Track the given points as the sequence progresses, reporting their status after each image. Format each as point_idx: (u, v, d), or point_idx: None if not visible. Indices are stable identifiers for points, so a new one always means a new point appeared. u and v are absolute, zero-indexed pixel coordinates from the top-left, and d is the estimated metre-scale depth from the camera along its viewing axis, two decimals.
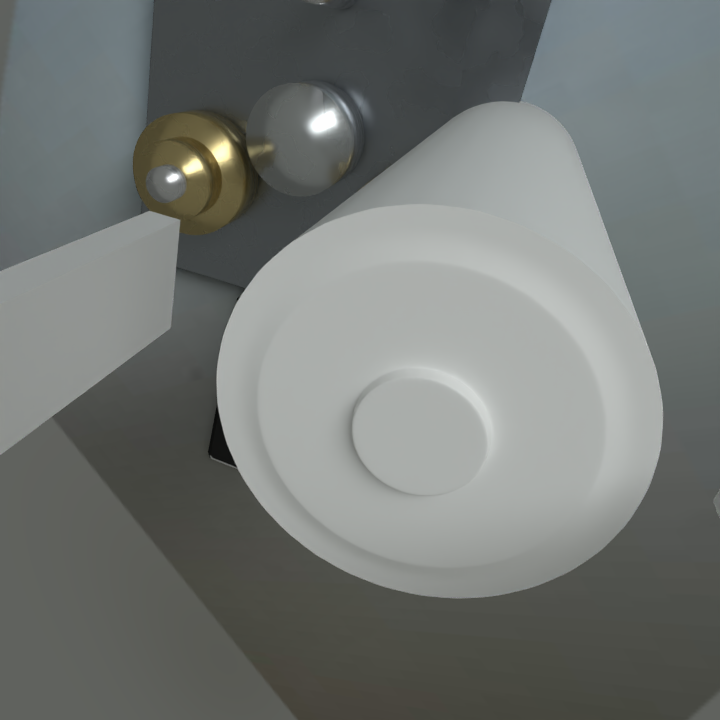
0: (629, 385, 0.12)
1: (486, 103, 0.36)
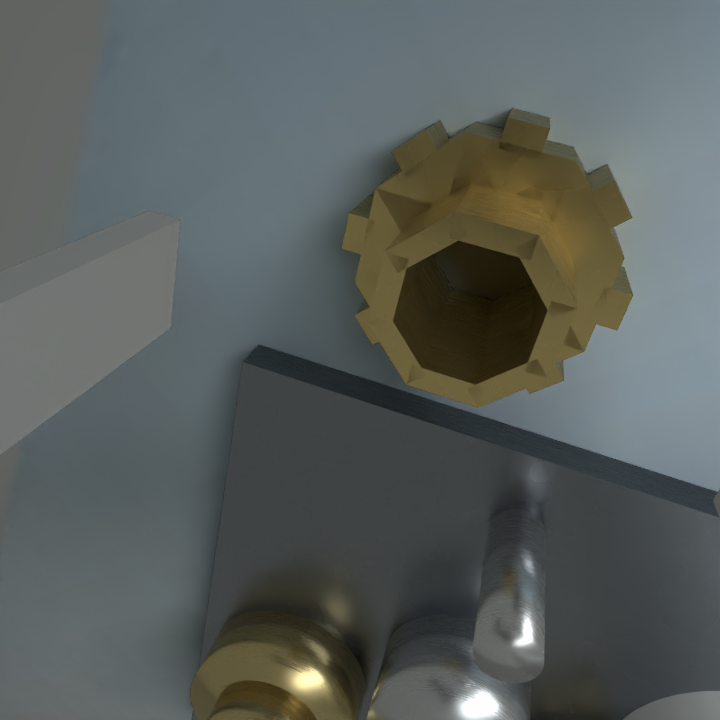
0: None
1: None
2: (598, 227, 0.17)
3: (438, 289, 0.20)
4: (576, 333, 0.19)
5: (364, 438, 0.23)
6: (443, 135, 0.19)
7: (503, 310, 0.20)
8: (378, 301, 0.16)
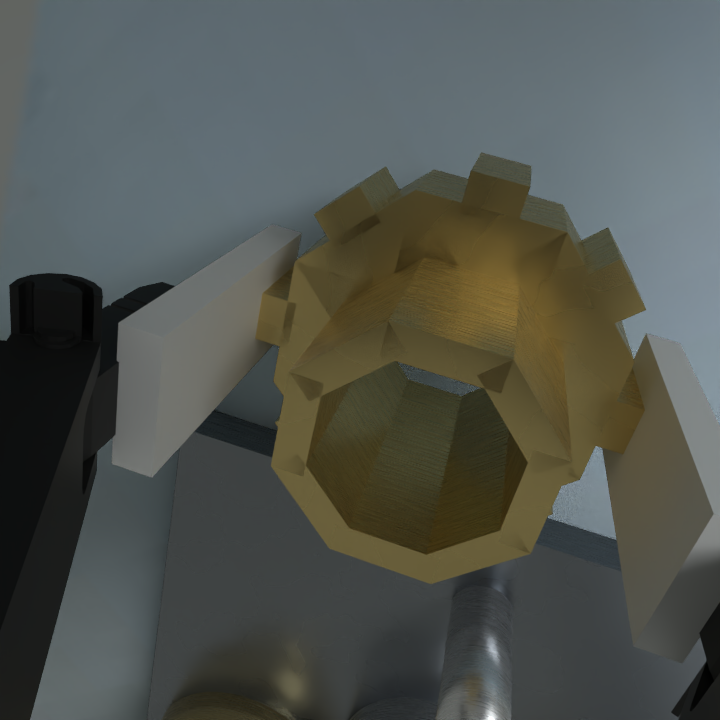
0: None
1: None
2: (599, 321, 0.13)
3: (386, 387, 0.15)
4: None
5: None
6: (389, 188, 0.14)
7: (472, 415, 0.15)
8: (284, 438, 0.11)
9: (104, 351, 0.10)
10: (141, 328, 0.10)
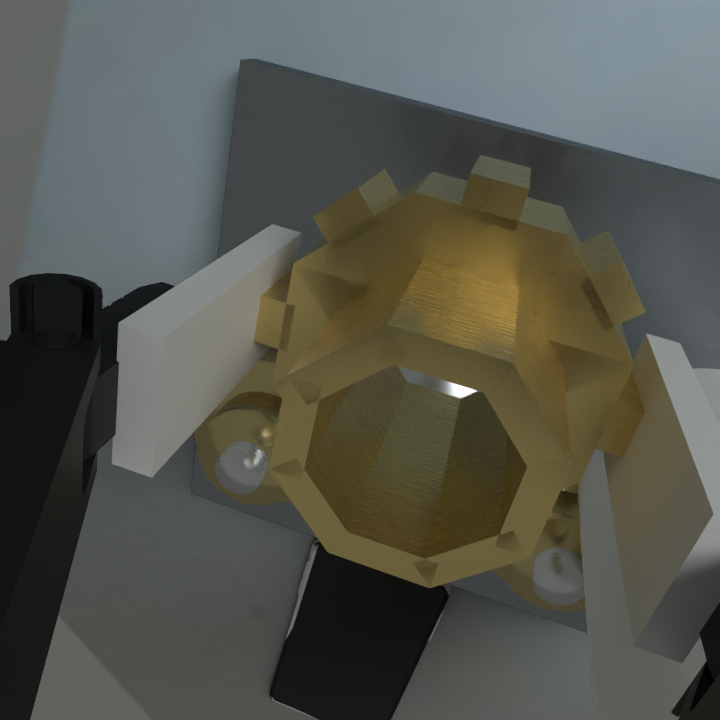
0: None
1: None
2: (598, 323, 0.12)
3: (386, 389, 0.15)
4: None
5: (352, 130, 0.26)
6: (388, 190, 0.14)
7: (471, 418, 0.15)
8: (282, 442, 0.11)
9: (104, 351, 0.10)
10: (141, 328, 0.10)
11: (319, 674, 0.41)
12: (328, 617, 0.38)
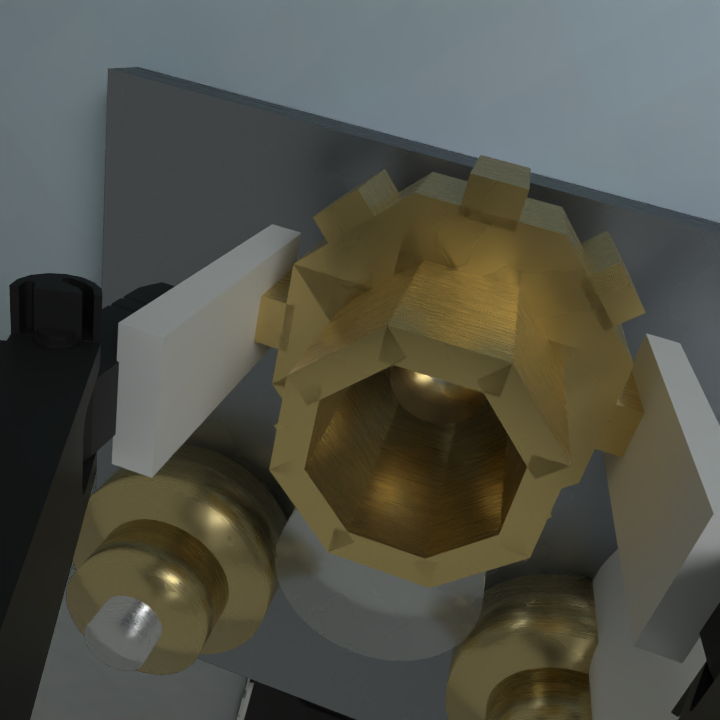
0: None
1: None
2: (598, 324, 0.12)
3: (386, 389, 0.15)
4: None
5: (268, 169, 0.18)
6: (388, 190, 0.14)
7: (471, 418, 0.15)
8: (282, 442, 0.11)
9: (104, 351, 0.10)
10: (141, 328, 0.10)
11: None
12: None
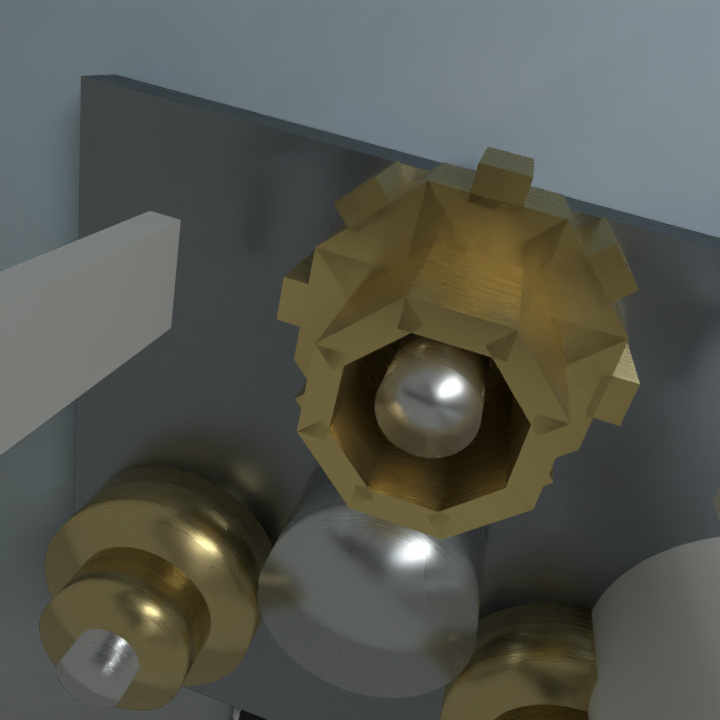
0: None
1: None
2: (596, 301, 0.14)
3: None
4: (568, 428, 0.15)
5: (249, 182, 0.17)
6: (402, 179, 0.15)
7: None
8: (309, 405, 0.12)
9: None
10: None
11: None
12: None
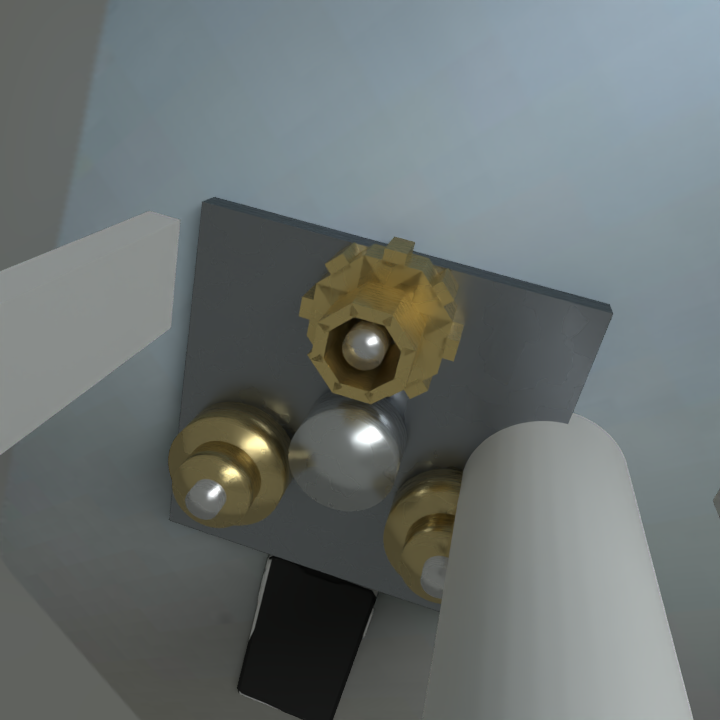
0: None
1: (534, 425, 0.35)
2: (437, 305, 0.32)
3: None
4: (432, 363, 0.33)
5: (283, 251, 0.35)
6: (355, 252, 0.34)
7: (394, 350, 0.34)
8: (315, 348, 0.30)
9: None
10: None
11: (277, 669, 0.49)
12: (282, 619, 0.47)
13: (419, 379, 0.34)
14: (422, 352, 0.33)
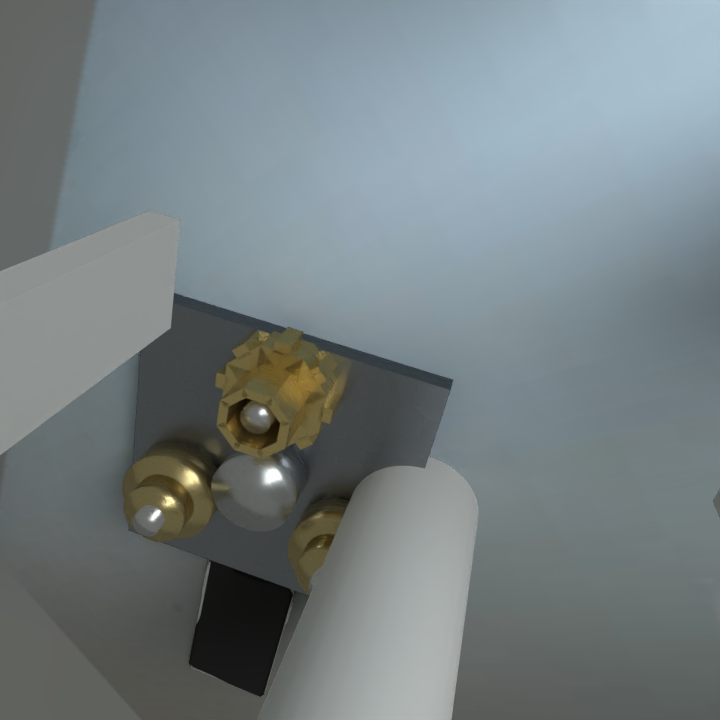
0: None
1: (399, 469, 0.46)
2: (315, 383, 0.42)
3: None
4: (314, 424, 0.44)
5: (206, 333, 0.46)
6: (258, 338, 0.44)
7: None
8: (219, 417, 0.41)
9: None
10: None
11: (219, 648, 0.61)
12: (221, 609, 0.58)
13: (306, 435, 0.44)
14: (306, 416, 0.43)
